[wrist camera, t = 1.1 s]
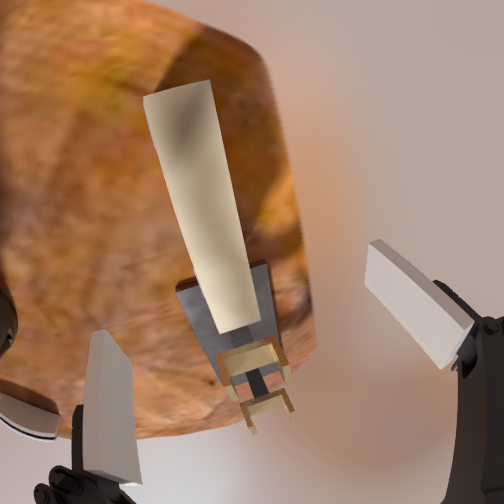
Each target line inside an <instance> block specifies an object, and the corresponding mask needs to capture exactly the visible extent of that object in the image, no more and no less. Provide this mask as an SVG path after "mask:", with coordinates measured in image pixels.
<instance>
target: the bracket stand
mask: <svg viewBox="0 0 504 504" xmlns="http://www.w3.org/2000/svg"><path fill="white" fill-rule="evenodd" d="M249 267H250V272H251V276H252V281H253V285H254V290H255V295H256V299H257V304H258V308H259V313H260V317H261V320H260V321H257V322H255V323H252V324H249V325H246V326H243V327H240V328H237V329H234V330H231V331H228V332H225V333H222V334H219V331H218V329H217V326H216V324H215V322H214V319H213V316H212V314H211V311H210V309H209V306H208V304H207V301H206V298H204V296H203V293H202V291H201V288H200V286H199V283H198V281H195V282H192V283H189V284H186V285H183V286H179V287H176V288H175V289H176V294H177V296H178V298H179V300H180V302H181V305H182V307H183V309H184V311H185V313H186V315H187V317H188V319H189V322H190V324H191V326H192V328H193V330H194V332H195V334H196V336H197V338H198V340H199V342H200V344H201V346H202V348H203V349H204V351H205V353H206V355H207V357H208V359H209V361H210V363H211V365H212V367H213V368H214V370H215V372H216V374H217V376H218V378H219V379H220V381H221V383H222V385H223V386H224V388H225V390H226V391H227V393H228V395H229V397H230V398H231V400H232V402H235V401H238V400H239V398H238V395H237V392H236V389H235V386H237V385H240V384H243V383H246V382H249V385H250V388H251V390H252V393H253V396H254V398H255V399H252V400H249V401H245V402H242V403H240V406H241V409H242V411H243V414H244V417H245V420H246V423H247V426H248V428H249V430H250V431H251V433H252V434H253V435H254V434H257V430H256V428H255V425H254V422H253V420H252V417H251V416H252V415H254V414H258V413H260V412H263V411H266V410H269V409H272V408H275V407H277V406H280V405H284V407H285V409H286V411H287V413H288V415H289V418H290V420H291V421H293V420H296V416H295V410H294V408H293V406H292V404H291V402H290V400H289V397H288V395H287V393H286V391H285V389H284V388H282V389H280V390H277V391H274V392H272V393H269V392H268V390H267V387H266V385H265V383H264V380H263V378H262V377H263V376H266V375H269V374H271V373H274V372H277V371H279V372H280V374H281V376H282V378H283V380H284V382H285V384H286V383H289V382H291V381H292V379H291V370H290V364H289V362H288V360H287V358H286V356H285V354H284V352H283V350H282V348H281V346H280V343H279V337H278V331H277V324H276V318H275V312H274V306H273V300H272V294H271V288H270V282H269V276H268V270H267V264H266V262H265V261H264V260H261V261H257V262H254V263H251V264H249Z"/></svg>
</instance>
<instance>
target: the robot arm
mask: <svg viewBox="0 0 504 504" xmlns="http://www.w3.org/2000/svg"><path fill="white" fill-rule="evenodd" d="M364 285H365V286H366V287H367V288H368V289H369V290H370V291H371V292H372V293H373V294H374V295H375V296H376V297H377V298H378V299H379V300H380V302H381V303H382V304H383V305H384V306H385V307H386V308H387V309H388V310H389V311H390V312H391V313H392V314H393V316H394V317H395V318H396V319H397V320H398V321H399V322H400V323H401V324H402V326H403V327H404V328H405V329H406V330H407V331H408V332H409V333H410V335H411V336H412V337H413V338H414V339H415V340H416V341H417V343H418V344H419V345H420V346H421V347H422V348H423V350H424V351H425V352H426V353H427V354H428V355H429V357H430V358H431V359H432V360H433V361H434V363H435V364H436V365H437V366H438V367H439V369H440V370H441V369H442V368H443V367H445V366H446V365H447V364H448V363H450V362H451V360H452V359H453V358H454V356H455V354H457V355H458V356H459V357H458V358H457V360H456V361H455V363H454V364H453V366H452V368H451V371H453V370H454V369H455V368H456V366H457V369H456V371H458V411H457V428H456V439H455V447H454V455H453V462H452V468H451V473H450V478H449V483H448V488H447V492H446V496H445V498H444V500H443V501H442V503H441V504H504V316H503V317H500V318H498V319H494V318H492V317H489V316H487V317H483V318H482V317H481V316H479V315H478V314H477V313H476V312H475V311H474V310H473V309H472V308H471V307H470V306H469V305H468V304H467V303H466V302H465V301H463V300H462V299H461V298H459V297H458V295H457V294H456V293H455V292H453V291H452V290H451V289H450V288H449V287H448V286H447V285H446V284H444V283H442V282H440V281H438V280H434V281H431V280H430V279H428V278H427V277H426V276H425V275H424V274H423V273H422V272H420V271H419V270H418V269H417V268H416V267H414V266H413V265H412V264H411V263H410V262H408V261H407V260H406V259H405V258H404V257H402V256H401V255H400V254H399V253H397V252H396V251H395V250H393V249H392V248H391V247H390V246H389V245H387V244H386V243H385V242H383V241H382V240H381V239H378V240H375V241H373V242H370V243H369V245H368V257H367V267H366V276H365V284H364ZM17 331H18V324H17V319H16V315H15V313H14V310H13V308H12V306H11V305H10V303H9V301H8V300H7V298H6V297H5V295H4V294H3V293H2V291H1V290H0V359H1V358H2V357H3V355H4V354H5V353H6V352H7V351H8V350H9V349H10V347H11V346H12V344H13V342H14V340H15V337H16V334H17ZM72 427H73V429H72V470H70V469H68V468H66V467H63V466H61V465H60V466H55V467H54V468H52V470H51V471H50V473H49V485H50V486H48V485H45V484H43V483H40V484H38V485H37V486H36V487H35V489H34V498H35V501H36V504H136V503H135V502H134V501H133V500H132V499H131V498H130V497H129V496H128V495H127V494H126V493H125V492H124V491H123V490H121V489H120V488H119V483H120V484H123V485H126V486H136V485H137V486H138V485H142V479H141V473H140V467H139V459H138V452H137V442H136V432H135V421H134V405H133V380H132V362H131V361H130V360H129V359H128V357H127V356H126V355H125V354H124V352H123V351H122V350H121V349H120V347H119V346H118V345H117V343H116V342H115V341H114V339H113V338H112V337H111V335H110V334H109V333H108V331H107V330H106V329H102V330H99V331H95V332H92V337H91V343H90V350H89V357H88V364H87V373H86V382H85V394H84V404H83V405H77V406H76V408H75V411H74V413H73V418H72Z"/></svg>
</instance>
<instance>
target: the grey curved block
mask: <svg viewBox="0 0 504 504" xmlns="http://www.w3.org/2000/svg"><path fill="white" fill-rule="evenodd" d="M60 419H61V418H60V416H59V415H56V414H53V413H50V412H48V411H45V410H42V409H39V408H37V407H34V406H31V405H29V404H26V403H24V402H22V401H19V400H17V399H15V398H12V397H10V396H8V395H6V394H4V393H2V392H1V397H0V420H1V422H2V423H3V424H4V425H5V426H7V427H8V428H10V429H11V430H13V431H14V432H16V433H18V434H20V435H22V436H24V437H27V438H30V439H33V440H37V441H42V442H55V441H56V438H57V433H58V429H59V425H60Z"/></svg>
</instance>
